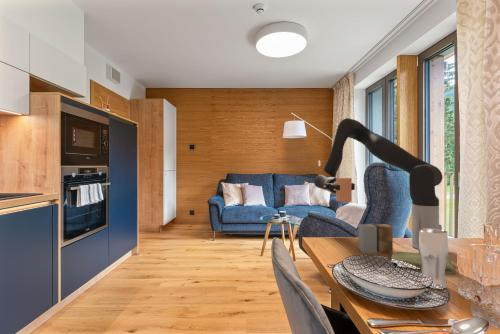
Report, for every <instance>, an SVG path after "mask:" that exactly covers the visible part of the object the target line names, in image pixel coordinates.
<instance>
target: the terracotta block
mask: <svg viewBox="0 0 500 334" xmlns="http://www.w3.org/2000/svg"><path fill="white" fill-rule="evenodd" d="M352 183H353V182H352V177H337V178H336V185H340V190H336V194H335V201H336V202H338V203H352V202H353V201H352V199H353V198H352V195H353V194H352V193H353V192H352V191H353V190H351V185H352Z"/></svg>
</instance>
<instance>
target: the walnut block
mask: <svg viewBox="0 0 500 334" xmlns="http://www.w3.org/2000/svg"><path fill="white" fill-rule="evenodd" d="M372 225H374V226H376V227H377V254H393V253H394V252H393V251H394V248H393V247H394V245H393V243H394V241H393V238H394V237H393V234H394V233H393V231H394V230H393V229H394V228H393V226H391V225H389V224H387V223H373V224H372Z"/></svg>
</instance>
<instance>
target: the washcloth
mask: <svg viewBox="0 0 500 334" xmlns="http://www.w3.org/2000/svg"><path fill="white" fill-rule="evenodd" d="M390 259H395V260H399V261H403V262H406V263H409V264H412V265H415V266H416V267H418V268H420V269H422V266H421V261H420V256H419V252H415V251H414V252H412V251H395V252H393V253H392V255H391V257H390ZM453 274H456V268H455V267H454V265H453V264H452V260H451V259H450V257H448V258H447V263H446V267H445V275H453Z"/></svg>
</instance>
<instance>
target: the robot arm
mask: <svg viewBox="0 0 500 334" xmlns="http://www.w3.org/2000/svg"><path fill="white" fill-rule="evenodd" d="M348 138H350V139H353V140H355V141H357V142H358V143H360V144H362V145H364V146H365V148H366V149H367V150H368V151H369V152H370V154H371V155H373V156H374V157H376V158H377V159H379V160H380V161H382V162H383V163H386V164H387V165H390V166H393V167H396V168H398V169H401V170H403V171H404V172H406V173H408V174H409V175H408V185H409V196H410V199H411V235H412V236H411V239H412V240H411V245H412V247H413V248H415V249H418V236H419V229H421V228H433V229H440V230H443V226H442V224H440V198H439V197H438V196H437V195H436V187H437V186H439V185H440V184H441V183H442V181H443V174H442V171H441V170H440V168H438V167H437V166H435V165H433V164H431V163H429V162H426V161H424V160H422V159H420V158H418V157H416V156H414V155H413V154H411V153H410V152H408V151H407V150H406V149H404V148H402V147H401V146H399V145H398V144H396V143H394V142H393V141H391V140H390V139H388V138H386V137H385V136H382V135H381V134H378V133H376V132H373V130H370V129H369V128H368V127H366V126H365V125H363V123H361V122H360V121H359V120H356V119H352V118H348V117H345V118H342V119H341V120H340V121H339V123H338V125H337V128H336V131H335V136H334V139H333V144H332V147H331V150H330V152H329V156H328V157H327V160H326V162H325V165H324V167H323V171H324V173H327V175H329V176H325V175H323V174H318V175H317V176H316V177H315V178H314V186H315V187H316V188H318V189H321V190H323V191H327V192H329V193H332V194H335V195H336V190H340V185H336V178H338V177H337V172H338V171H339V168H340V166H341V164H342V162H343V154H344V146H345V143H346V141H347V139H348ZM355 189H356V184H355V183H353V182H352V185H351V190H352V191H354V190H355Z"/></svg>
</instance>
